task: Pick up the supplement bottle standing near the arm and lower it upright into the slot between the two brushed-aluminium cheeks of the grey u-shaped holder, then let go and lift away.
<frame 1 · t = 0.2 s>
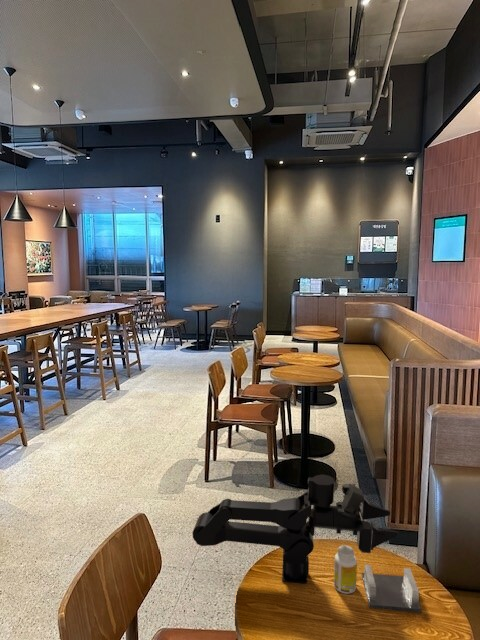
hand: (394, 523, 110), 17 cm above the table, tool horizontal, fingers open, 9 cm apart
supplement bottle: (345, 587, 110), on the table
grey u-shaped holder: (389, 593, 108), on the table
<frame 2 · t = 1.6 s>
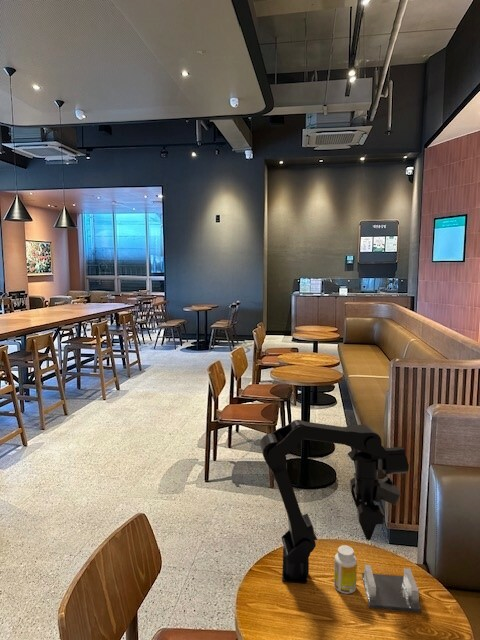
hand: (365, 529, 115), 12 cm above the table, tool pointing down, fingers open, 9 cm apart
nothing on the table moved.
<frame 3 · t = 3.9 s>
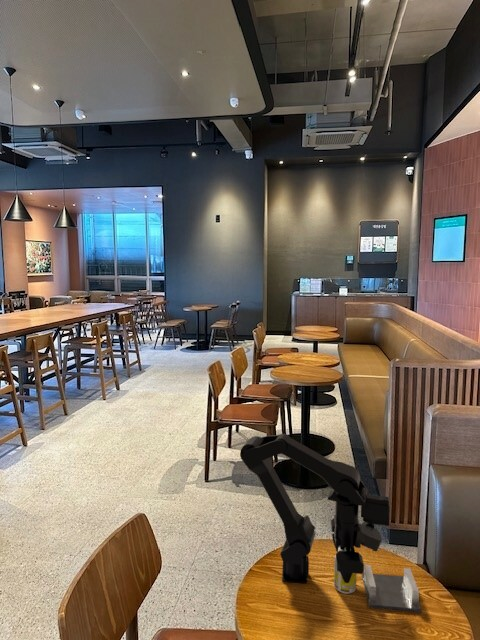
hand: (345, 574, 110), 4 cm above the table, tool pointing down, fingers closed on supplement bottle, 5 cm apart
supplement bottle: (345, 587, 110), on the table, touching gripper
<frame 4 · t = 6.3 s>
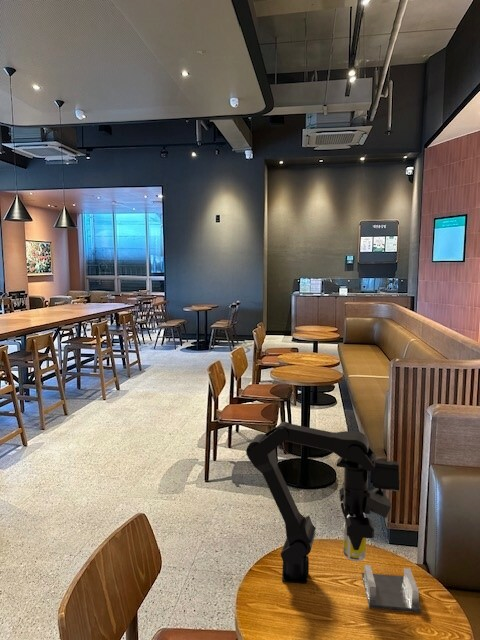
hand: (354, 542, 109), 13 cm above the table, tool pointing down, fingers closed on supplement bottle, 5 cm apart
supplement bottle: (354, 556, 109), point 9 cm above the table, touching gripper
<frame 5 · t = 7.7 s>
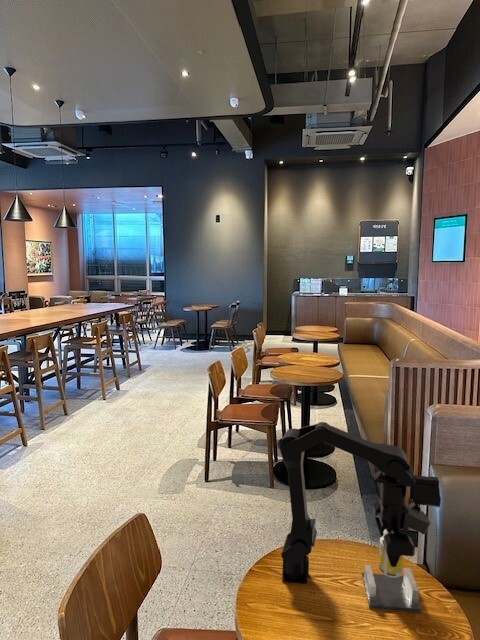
hand: (390, 558, 107), 10 cm above the table, tool pointing down, fingers closed on supplement bottle, 5 cm apart
supplement bottle: (390, 571, 107), point 6 cm above the table, touching gripper
when the fingers open (6 cm above the table, at t = 8.9 s): supplement bottle drops 1 cm, resting on grey u-shaped holder.
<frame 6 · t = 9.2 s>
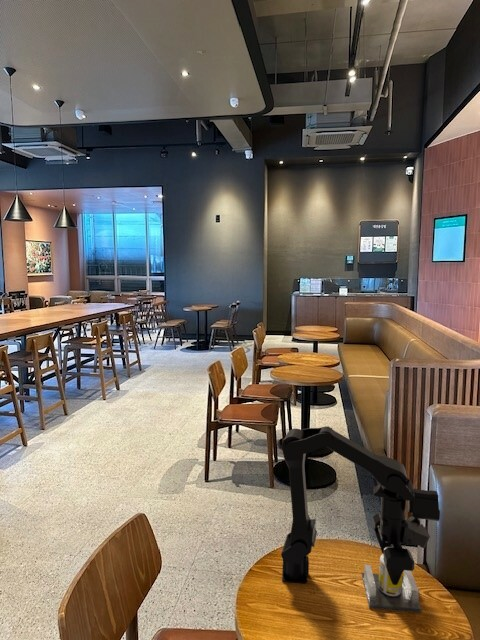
hand: (390, 571, 107), 6 cm above the table, tool pointing down, fingers open, 9 cm apart
supplement bottle: (389, 590, 108), point 1 cm above the table, touching grey u-shaped holder
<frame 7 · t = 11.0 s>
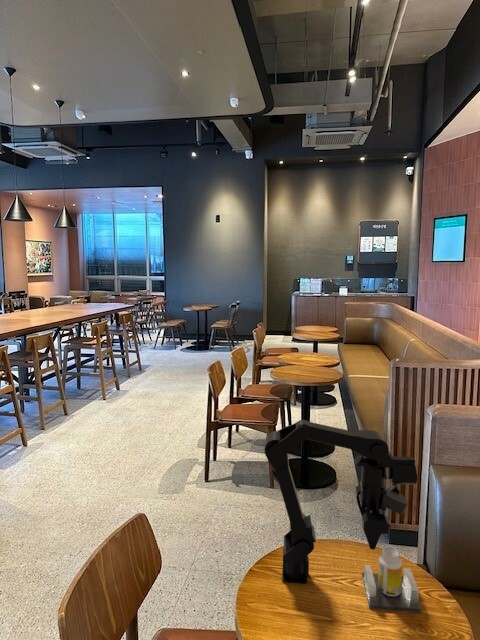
hand: (369, 537, 112), 12 cm above the table, tool pointing down, fingers open, 9 cm apart
nothing on the table moved.
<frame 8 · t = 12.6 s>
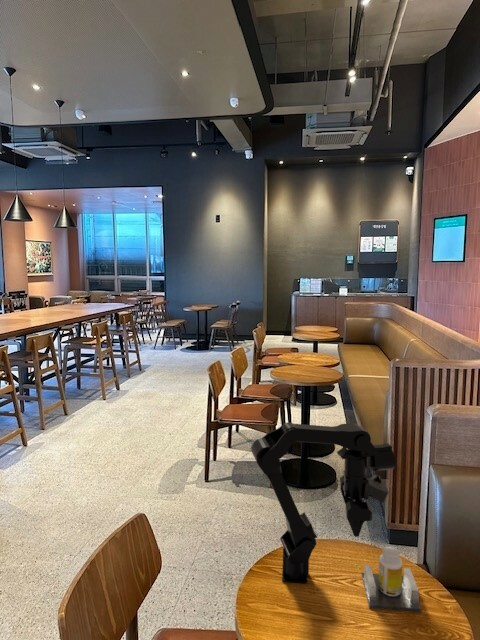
hand: (353, 526, 117), 12 cm above the table, tool pointing down, fingers open, 9 cm apart
nothing on the table moved.
at the end: supplement bottle 0.1 cm off-centre on the grey u-shaped holder, point 0.8 cm above the grey u-shaped holder's base; supplement bottle tilted 0°; the gripper is holding nothing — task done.
